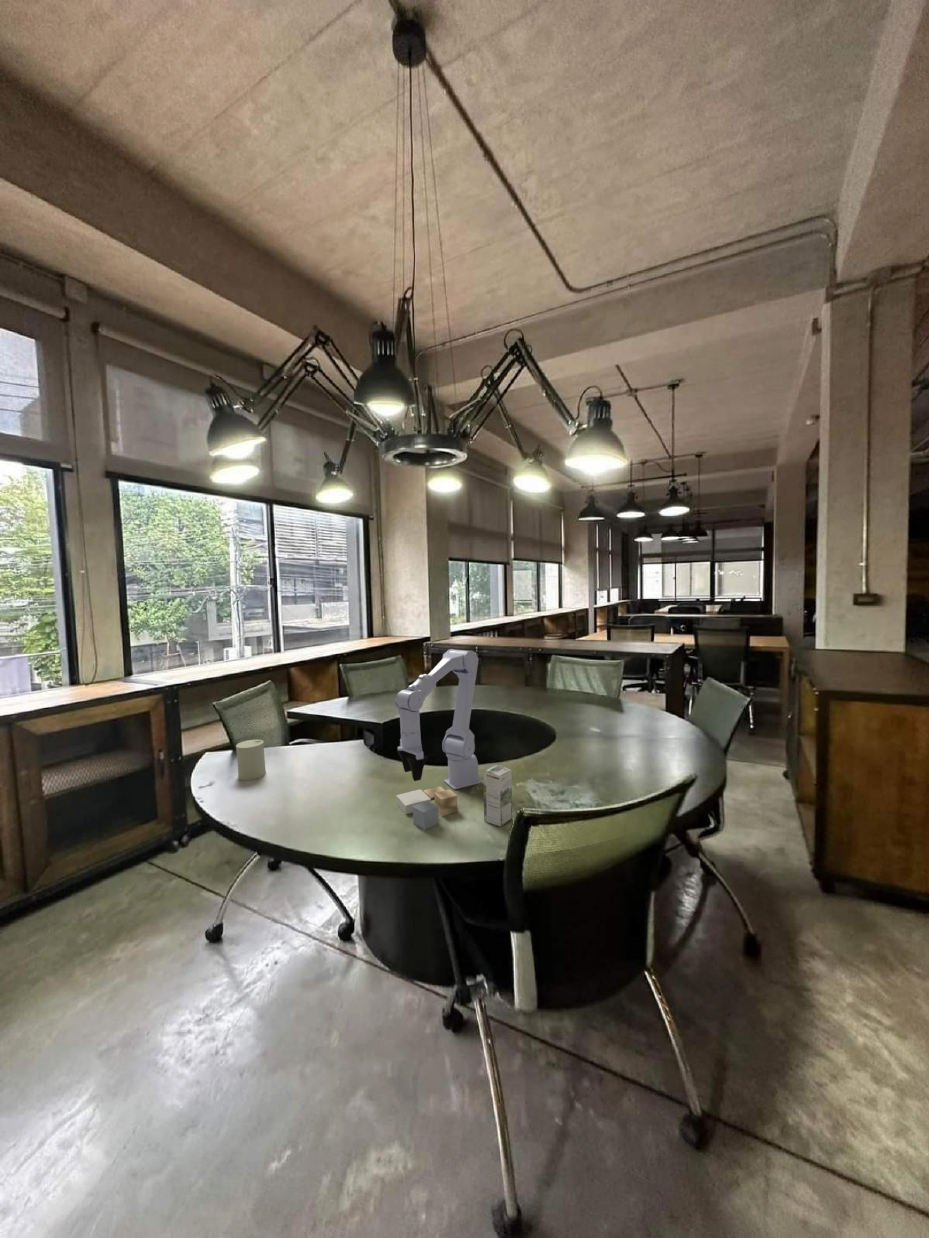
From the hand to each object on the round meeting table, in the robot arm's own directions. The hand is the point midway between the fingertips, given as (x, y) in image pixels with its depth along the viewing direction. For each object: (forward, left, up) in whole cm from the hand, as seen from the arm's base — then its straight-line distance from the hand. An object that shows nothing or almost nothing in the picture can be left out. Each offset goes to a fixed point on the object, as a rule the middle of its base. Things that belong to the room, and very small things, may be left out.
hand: (412, 775), depth 146 cm
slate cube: (+1, +11, -10) cm, 15 cm away
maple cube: (-7, +7, -10) cm, 14 cm away
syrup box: (-17, +20, -10) cm, 28 cm away
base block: (0, -1, -10) cm, 10 cm away
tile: (-9, -5, -10) cm, 14 cm away
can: (+41, -54, -10) cm, 68 cm away
